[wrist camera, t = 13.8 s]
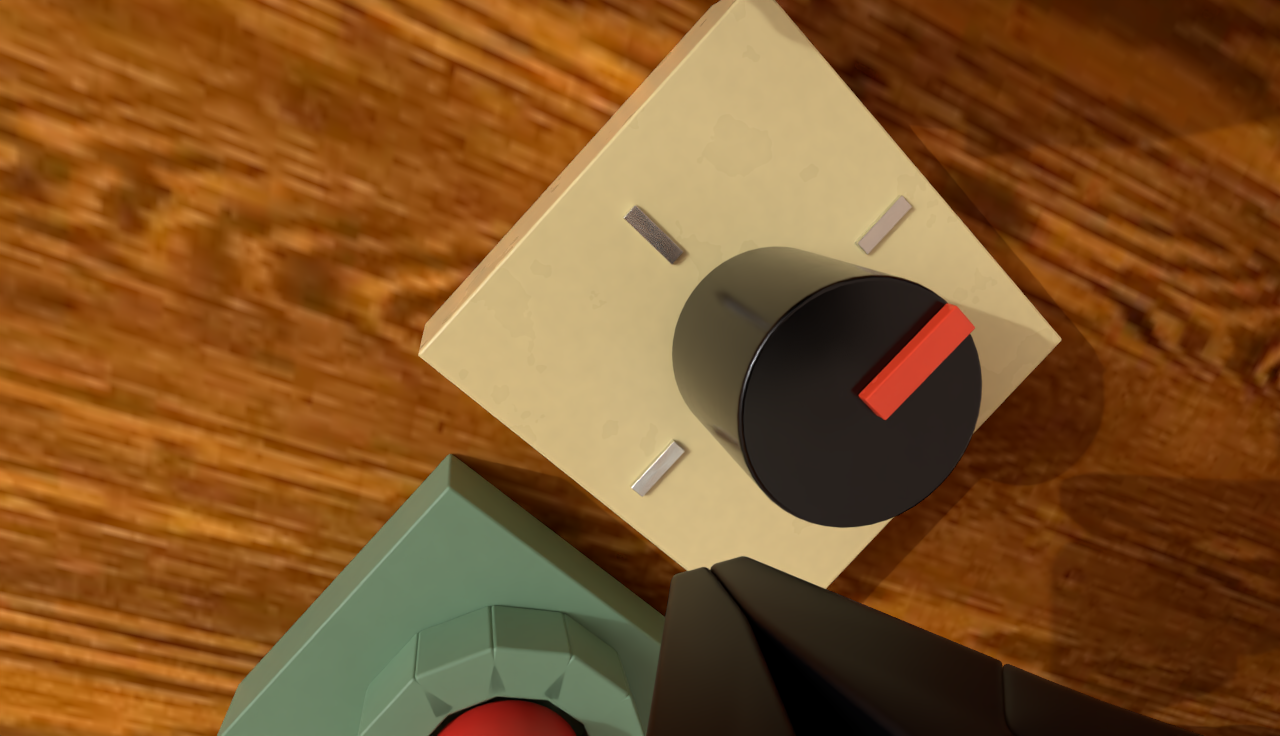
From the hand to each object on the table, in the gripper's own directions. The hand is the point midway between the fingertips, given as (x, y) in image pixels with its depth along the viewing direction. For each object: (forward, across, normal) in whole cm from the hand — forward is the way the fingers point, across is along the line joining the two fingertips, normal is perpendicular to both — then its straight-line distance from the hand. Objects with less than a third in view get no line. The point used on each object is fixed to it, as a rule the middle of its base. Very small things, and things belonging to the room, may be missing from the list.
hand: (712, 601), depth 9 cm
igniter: (+12, +4, +8) cm, 15 cm away
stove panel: (+12, -4, 0) cm, 12 cm away
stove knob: (+9, -4, 0) cm, 10 cm away
